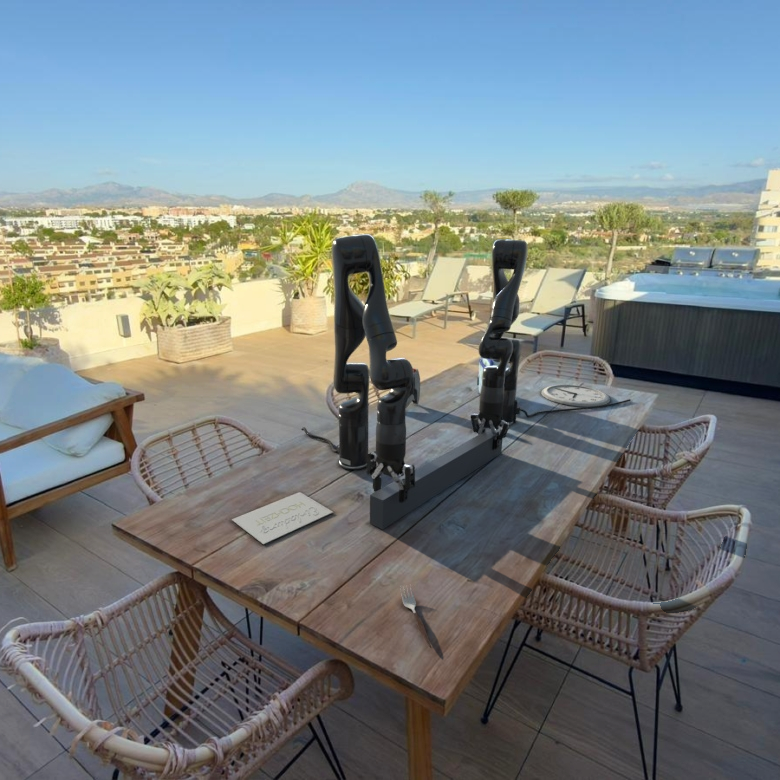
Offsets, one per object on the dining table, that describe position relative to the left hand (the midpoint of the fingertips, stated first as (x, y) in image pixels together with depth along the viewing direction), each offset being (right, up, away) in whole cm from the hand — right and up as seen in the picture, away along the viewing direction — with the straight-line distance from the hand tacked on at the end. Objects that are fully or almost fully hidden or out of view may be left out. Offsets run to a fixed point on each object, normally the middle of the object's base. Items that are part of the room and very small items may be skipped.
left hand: (389, 496), depth 135 cm
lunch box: (+45, +23, +99) cm, 111 cm away
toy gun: (+8, +20, +85) cm, 88 cm away
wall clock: (+85, +24, +105) cm, 137 cm away
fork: (+5, -17, -33) cm, 38 cm away
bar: (+16, 0, +21) cm, 27 cm away
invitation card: (-28, -6, +2) cm, 29 cm away
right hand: (+33, +9, +39) cm, 51 cm away
